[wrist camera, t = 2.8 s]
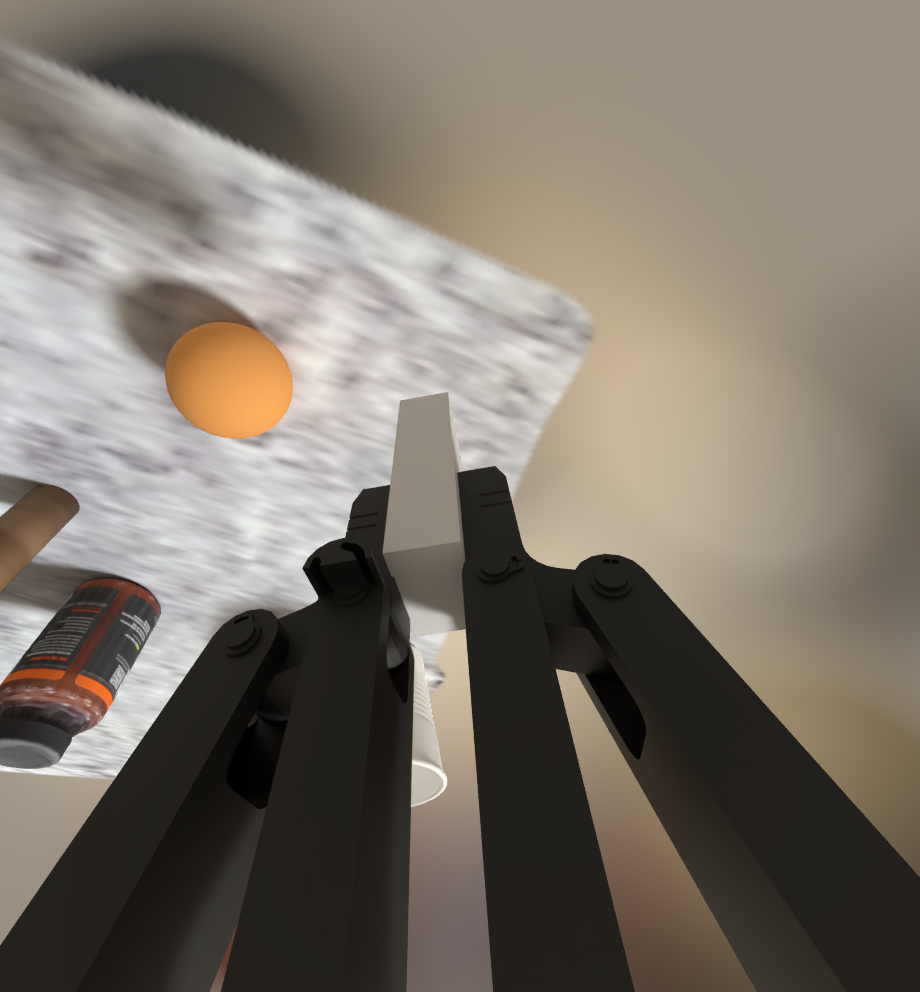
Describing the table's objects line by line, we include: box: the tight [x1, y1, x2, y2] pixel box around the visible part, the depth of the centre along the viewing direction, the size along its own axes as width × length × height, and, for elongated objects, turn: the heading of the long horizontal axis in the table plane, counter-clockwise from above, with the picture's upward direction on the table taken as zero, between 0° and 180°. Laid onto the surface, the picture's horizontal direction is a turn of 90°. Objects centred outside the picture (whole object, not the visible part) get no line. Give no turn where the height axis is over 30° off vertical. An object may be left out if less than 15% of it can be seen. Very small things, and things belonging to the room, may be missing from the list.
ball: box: [165, 322, 293, 439], centre depth 21 cm, size 6×6×6 cm
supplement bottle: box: [0, 579, 161, 769], centre depth 30 cm, size 6×6×11 cm
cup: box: [410, 644, 447, 807], centre depth 37 cm, size 10×10×11 cm
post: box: [0, 485, 79, 592], centre depth 25 cm, size 3×3×9 cm
